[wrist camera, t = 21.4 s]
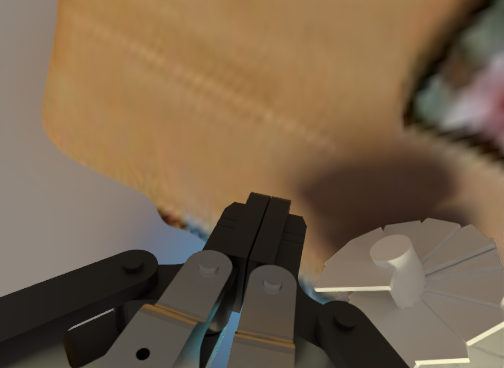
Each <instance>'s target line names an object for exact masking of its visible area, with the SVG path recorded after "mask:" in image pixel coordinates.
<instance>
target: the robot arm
mask: <svg viewBox="0 0 504 368" xmlns="http://www.w3.org/2000/svg"><path fill="white" fill-rule="evenodd" d="M290 205H291V200H287V199H282V198H278V197H273V196H272V197H271V196H268V195H263V194H259V193H254V192H251V193H250V196H249V198H248V200H247V202H246V204H242V203H237V202H234V203H232V204H231V205H229V206H228V207H226V208H225V210H224V211H223V213H222V215H221V217H220V219H219V221H218V222H217V225H216V226H215V228H214V230H213V232H212V233H211V235H210V237H209V239H208V241H207V243H206V244H205V246H204V248H203V250H202V251H199V252H197V253H194V254H193V255H192V256H190V257H189V258H188V259H187V261H186V262H185V263H183V264H176V265H158V262H157V259H156V257H155V256H154V255H153V254H151V253H150V252H148V251H144V250H129V251H125V252H122V253H119V254H117V255H114V256H112V257H109V258H106V259H103V260H100V261H98V262H95V263H92V264H90V265H87V266H84V267H82V268H79V269H76V270H73V271H70V272H68V273H65V274H62V275H60V276H57V277H54V278H52V279H49V280H46V281H43V282H40V283H38V284H35V285H32V286H30V287H27V288H24V289H22V290H19V291H16V292H13V293H11V294H8V295H5V296H3V297H0V368H209V367H210V365H211V363H212V361H213V358H214V356H215V354H216V352H217V349H218V347H219V345H220V343H221V341H222V338H223V336H224V334H225V331H226V325H227V323H228V321H229V318H230V315H231V313H232V311H234V312H238V313H240V311H241V308H242V312H241V316H240V320H239V324H238V328H237V331H236V332H235V335H234V339H233V343H232V347H231V351H230V355H229V360H228V364H227V368H410V367H409V366H408V365H407V364H406V362H405V361H404V360H403V359H402V358H401V356H400V355H399V354H398V353H397V352H396V350H395V349H394V348H393V347H392V346H391V345H390V343H389V342H388V341H387V340H386V339H385V337H384V336H383V335H382V334H381V333H380V331H379V330H378V329H377V328H376V327H375V325H374V324H373V323H372V322H371V321H370V319H369V318H368V317H367V316H366V315H365V314H364V313H363V311H361V310H360V309H359V308H358V307H356V306H355V305H353V304H350V303H348V302H344V301H330V302H328V303H326V304H324V305H322V304H321V303H319V302H317V301H315V300H313V299H312V298H310V297H309V296H308V295H307V294H306V293H305V292H304V291H303V290H302V289H301V287H300V285H299V282H298V273H299V267H300V261H301V256H302V250H303V244H304V239H305V233H306V228H307V226H306V224H305V221H304V219H303V217H301V216H297V215H292V214H289V210H290ZM242 305H243V307H242ZM112 308H113V311H111V312H109V313H107V314H104V315H102V316H100V317H98V318H96V319H93V320H91V321H89V322H87V323H85V324H82V325H80V326H78V327H76V328H74V329H71V330H69V329H70V328H71V327H73V326H75V325H77V324H79V323H81V322H84V321H86V320H88V319H90V318H92V317H95V316H97V315H99V314H101V313H104V312H105V311H108V310H110V309H112ZM68 330H69V331H68Z"/></svg>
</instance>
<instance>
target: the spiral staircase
mask: <svg viewBox="0 0 504 368" xmlns="http://www.w3.org/2000/svg"><path fill="white" fill-rule="evenodd" d="M324 264H325V268H324V270H323V272H322V274H321V276H320V278H319V280H318V282H317V284H316V286H315V288H314V289H315V290H316V292H325V291H354V292H353V293H352V294H350V295H349V296H348V298H349V302H348V303H350V304H353V305H355V306H356V307H358V308H359V309H360V310H361V311H363V313H364V314H365V315H366V316H367V317H368V318H369V319H370V321H371V322H372V323H373V324H374V325H375V327H376V328H377V329H378V330H379V331H380V333H381V334H382V335H383V336H384V337H385V339H386V340H387V341H388V342H389V343H390V345H391V346H392V347H393V348H394V349H395V350H396V352H397V353H398V354H399V355H400V356H401V358H402V359H403V360H404V361H405V362H406V364H407V365H408V366H409V367H410V368H504V267H503V264H502V261H501V258H500V255H499V252H498V249H497V246H496V243H495V240H494V238H490V239H488V238H487V237H486V236H485V235H484V234H482V233H481V232H480V231H479V230H478V229H477V228H476V227H475V226H473V225H472V224H470V225H467V226H465V227H463V228H461V226H460V224H457V223H452V222H447V221H442V220H437V219H432V218H427V219H426V220H424V221H423V222H422V223H421V221H420V220H419V221H412V222H405V223H398V224H391V225H386V226H385V228H384V231H383V230H382V228H381V227H379V228H377V229H375V230H373V231H370V232H368V233H366V234H364V235H361V236H359V237H357V238H355V239H352V240H350V241H349V242H348V243H347V244H346V245H345V246H344V247H342V248H341V249H340V250H339V251H338V252H337V253H335V254H334V255H333V256H332V257H331V258H329V259H328V260H327V261H326V262H325V263H324Z"/></svg>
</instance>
